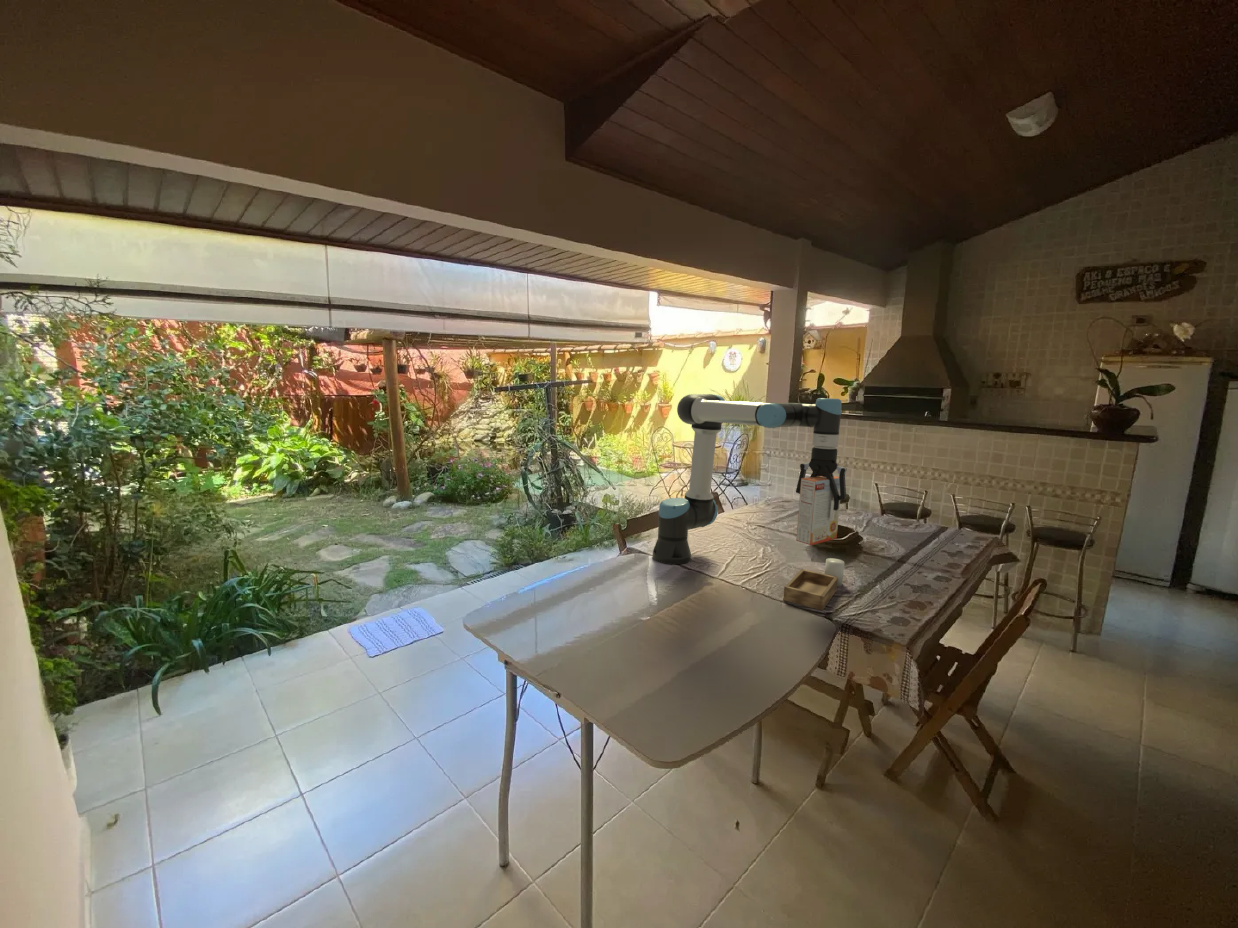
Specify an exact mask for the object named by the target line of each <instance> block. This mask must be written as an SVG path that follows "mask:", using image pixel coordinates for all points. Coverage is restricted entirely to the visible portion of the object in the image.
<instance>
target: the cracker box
mask: <svg viewBox="0 0 1238 928" xmlns="http://www.w3.org/2000/svg"><path fill="white" fill-rule="evenodd" d="M833 476H834V481H835V484H836V487H837V490H838V493H839V496H840V481H839V476H836V475H833ZM833 499H834V497H833V494H832V491H831V488H830V485H829V480H828V479H827V477H823V476H816V477H805V478H802V479H801V487H800V494H799V501H798V502H799V504H798V515H797V527H796V528H797V529H796V542H799V543H802V544H805V545H809V546H814V545H818V544H821V543H826V542H829V541H830V542H831V541H833V540H837V538H838V537H837V535H838V526H839V516H840V509H841V508H840V506H841V500H839V508H838V510H835V514H834V520H832V521H830V511H831V500H833Z"/></svg>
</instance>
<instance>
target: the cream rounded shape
mask: <svg viewBox="0 0 1238 928" xmlns="http://www.w3.org/2000/svg"><path fill="white" fill-rule="evenodd" d="M824 565H825V567H824V574H825V575H830V576H834V577H838V583H837V587H842V586H843V582H844V581H843V580H844V572H845V571H844V570H845V561H844V560H842V559H839V558H831V557H829V558H826V560H825V564H824Z"/></svg>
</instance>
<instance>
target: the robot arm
mask: <svg viewBox="0 0 1238 928" xmlns="http://www.w3.org/2000/svg"><path fill="white" fill-rule="evenodd" d="M815 400H816V401H815V403H812V404H811V403H798V402H786V403H785V402H784V403H781V402H780V403H779V402H760V401H758V402H755V401H754V402H752V401H732V400H731V401H730V400H725V398H724V397H723V396H721V395H719V394H714V393H713V394H712V393H705V394H704V393H703V394H702V393H699V394H697V393H691V394H690V393H689V394H687V395H684V396H683V397H682V398H681V399H680V400H679V401H678V403H677V406H676V407H677V408H676V409H677V410H676V411H677V415H678V418H679V419H680V420H681V421H682V422H683V423H684V424H688V425H691V429H692V430H693V431H694V438H693V445H692V446H693V447H692V457H691V469H690V477H689V486H688V488H689V489H688V490H687V491H685V492H684V497H670V498H666V499H663V500H662V501H661V502H660V503H659V506H658V507H659V508H658V520H657V521H658V522H657V529H658V530H657V539H656V542H655V545H654V546H653V550H652V559H653V560H654V561H656V562H659V563H662V564H666V565H684V564H687V563H689V562H691V560H692V552H691V548H690V544H689V542H688V534H689V530H695V529H699V528H704V527H707V526H710V525H711V524H713V523H714V522H715V521H716V520H717V517H718V513H719V510H718V505H717V503H716V501H715V499H714V494H713V493H712V492H711V489H712V488H711V487H712V481H713V479H712V478H713V472H714V471H713V470H714V462H715V461H714V460H715V451H716V444H717V443H716V442H717V437H718V436H717V435H718V433H720V432H721V431H722V424H732V425H733V424H734V425H735V424H736V425H744V426H745V425H746V426H757V427H764V428H769V429H775V428H788V427H789V428H790V427H802V428H803V427H804V428H813V434H812V444H811V445H812V446H813V447H812V448H811V453H810V454H811V457H810V461H809V462H808V463H807V462H806V463H805V462H803V463H801V464H799V468H800V472H799V477H798V481H797V484H796V488H795V493H796V494H799V495H800V487H801V479H802V478H806V474H807V470H808V469H809V468H810V470H811V472H812V473H811V475H810V477H816V476H823V477H827V479H828V480H829V485H830V488H831V491H832V494H833V497H834V499H833V500H831V511H830V521H832V520H834V514H835V510H838V508H839V500H840V501H841V500H845V499H846V498H847V489H846V488H847V487H846V486H847V485H846V473H847V467H845V466H844V467H843V466H839V465H838V463H837V459H838V447H839V442H840V441H839V440H840V426H841V417H842V413H843V412H842V400H841V399H840V398H825V397H819V398H817V399H815ZM836 470H837V473H838V474H839V475H838V477H839V481H840V496H839V493H838V490H837V487H836V484H835V481H834V476H835V475H834V474H833V473H835V471H836ZM839 509H840V508H839Z"/></svg>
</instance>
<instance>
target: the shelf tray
mask: <svg viewBox="0 0 1238 928" xmlns="http://www.w3.org/2000/svg"><path fill="white" fill-rule="evenodd" d="M837 583H838V577H834V576H830V575H825V573H820V572H817V571H811V570H809V569H803V568H801V569H800V571H798V572H797V573H796V574H795V575H794V576H793V578H792V579H790V581H788V582H787V583H786V584H785V586H784V588H783V598H782V599H783V601H787V602H789V603H794V604H796V605H801V606H804V607H807V608H811V609H815V610H819V611H824V610H825V607H826V606H827V605H828V603H829V602H830V601H831V599H832V597H833V596H834V595H835V594H836V592H837V591H838V586H837Z"/></svg>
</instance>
